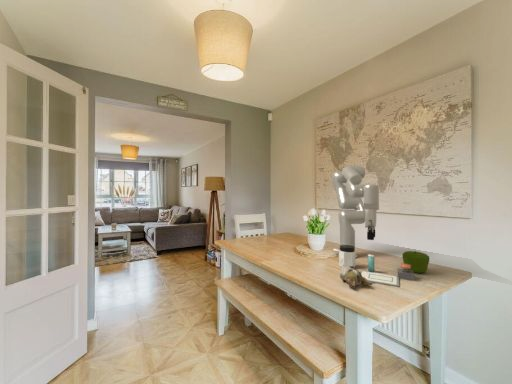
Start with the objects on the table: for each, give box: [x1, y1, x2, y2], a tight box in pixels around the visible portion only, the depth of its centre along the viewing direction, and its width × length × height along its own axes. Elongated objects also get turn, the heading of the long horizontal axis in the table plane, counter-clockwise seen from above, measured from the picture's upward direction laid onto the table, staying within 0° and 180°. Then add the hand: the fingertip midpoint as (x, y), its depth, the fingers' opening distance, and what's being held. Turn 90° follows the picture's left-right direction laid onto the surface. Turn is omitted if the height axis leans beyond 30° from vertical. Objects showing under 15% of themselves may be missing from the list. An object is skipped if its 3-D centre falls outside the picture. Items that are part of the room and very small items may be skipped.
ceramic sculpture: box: [339, 265, 373, 288], centre depth 114 cm, size 11×9×15 cm
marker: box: [367, 253, 376, 273], centre depth 132 cm, size 3×3×9 cm
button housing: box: [397, 268, 415, 282], centre depth 123 cm, size 7×7×3 cm
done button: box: [400, 262, 411, 273], centre depth 123 cm, size 4×4×4 cm
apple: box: [402, 250, 430, 274], centre depth 132 cm, size 12×12×11 cm
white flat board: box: [359, 270, 400, 288], centre depth 121 cm, size 18×15×1 cm
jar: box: [338, 244, 356, 269], centre depth 141 cm, size 9×8×12 cm
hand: (371, 238), depth 132 cm, fingers open, 9 cm apart
